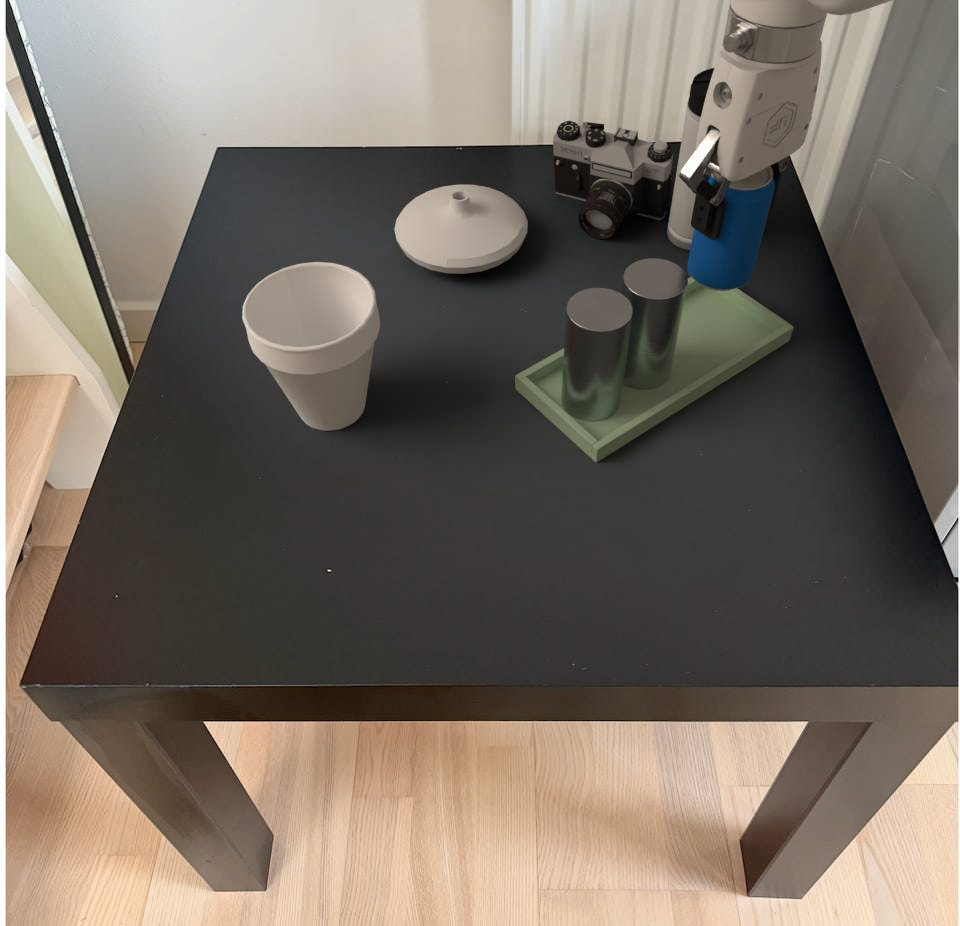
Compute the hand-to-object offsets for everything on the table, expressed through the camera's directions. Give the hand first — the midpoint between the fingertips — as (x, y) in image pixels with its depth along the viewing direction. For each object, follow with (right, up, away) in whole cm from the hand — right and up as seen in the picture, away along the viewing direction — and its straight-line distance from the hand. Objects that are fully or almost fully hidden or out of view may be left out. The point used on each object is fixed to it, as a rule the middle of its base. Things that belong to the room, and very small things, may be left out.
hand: (731, 216), depth 87 cm
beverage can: (0, -5, +6) cm, 7 cm away
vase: (-26, +2, +23) cm, 35 cm away
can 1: (-13, -17, +5) cm, 22 cm away
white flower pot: (-39, -18, +6) cm, 44 cm away
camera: (-9, +7, +26) cm, 28 cm away
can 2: (-7, -14, +8) cm, 17 cm away
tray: (-6, -13, +9) cm, 17 cm away
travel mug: (+2, +4, +23) cm, 23 cm away
